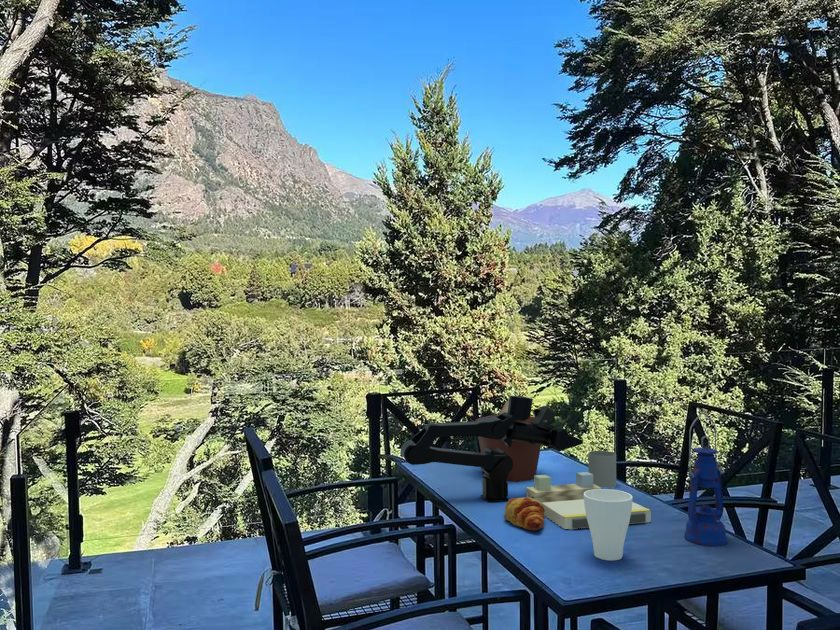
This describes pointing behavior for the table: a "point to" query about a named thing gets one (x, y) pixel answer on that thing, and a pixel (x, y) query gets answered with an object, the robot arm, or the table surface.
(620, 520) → the cup
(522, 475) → the bucket
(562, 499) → the wooden block
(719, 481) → the lantern
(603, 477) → the cup
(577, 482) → the blue-grey cube
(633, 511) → the dock
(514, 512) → the croissant
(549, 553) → the table surface
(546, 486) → the grey-green cube
